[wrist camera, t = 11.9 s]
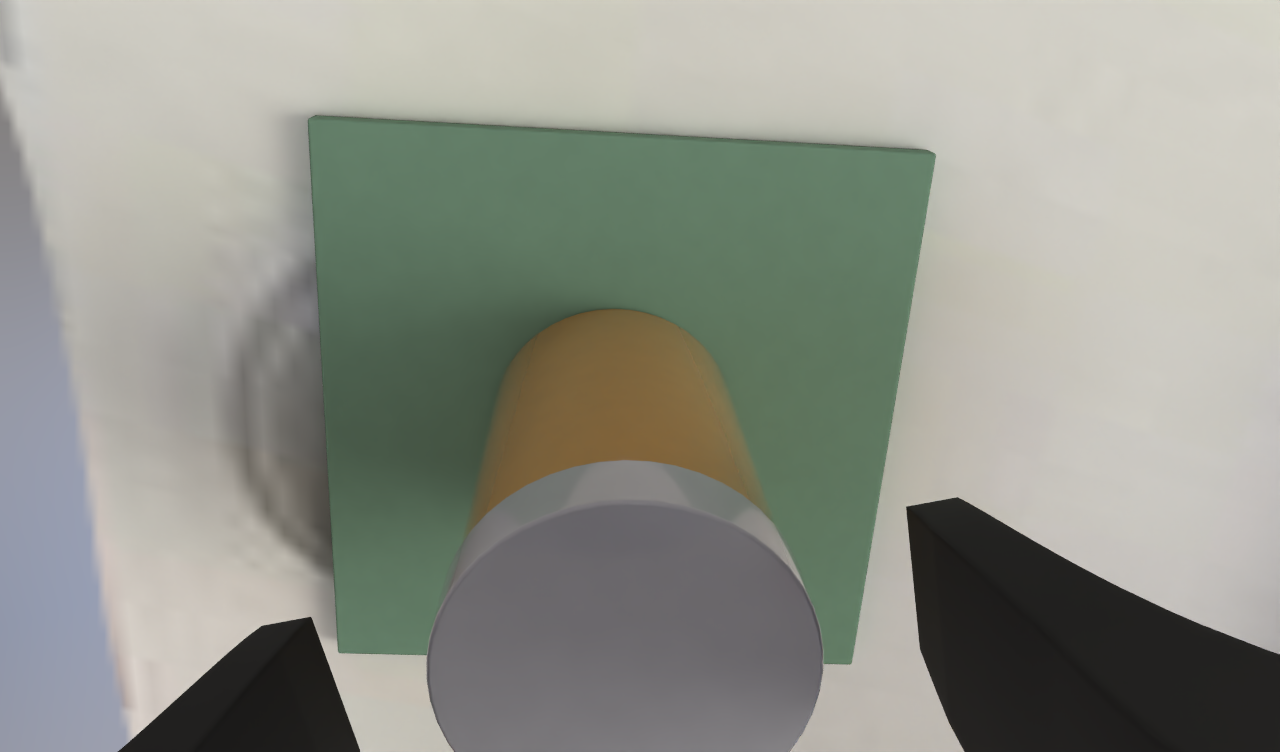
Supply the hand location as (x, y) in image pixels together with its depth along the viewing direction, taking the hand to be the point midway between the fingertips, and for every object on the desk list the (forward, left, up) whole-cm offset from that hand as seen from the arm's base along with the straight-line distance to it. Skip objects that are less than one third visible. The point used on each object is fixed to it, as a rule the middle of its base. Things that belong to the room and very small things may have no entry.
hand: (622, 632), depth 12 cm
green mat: (0, 0, -6) cm, 6 cm away
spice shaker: (0, 0, -6) cm, 6 cm away
